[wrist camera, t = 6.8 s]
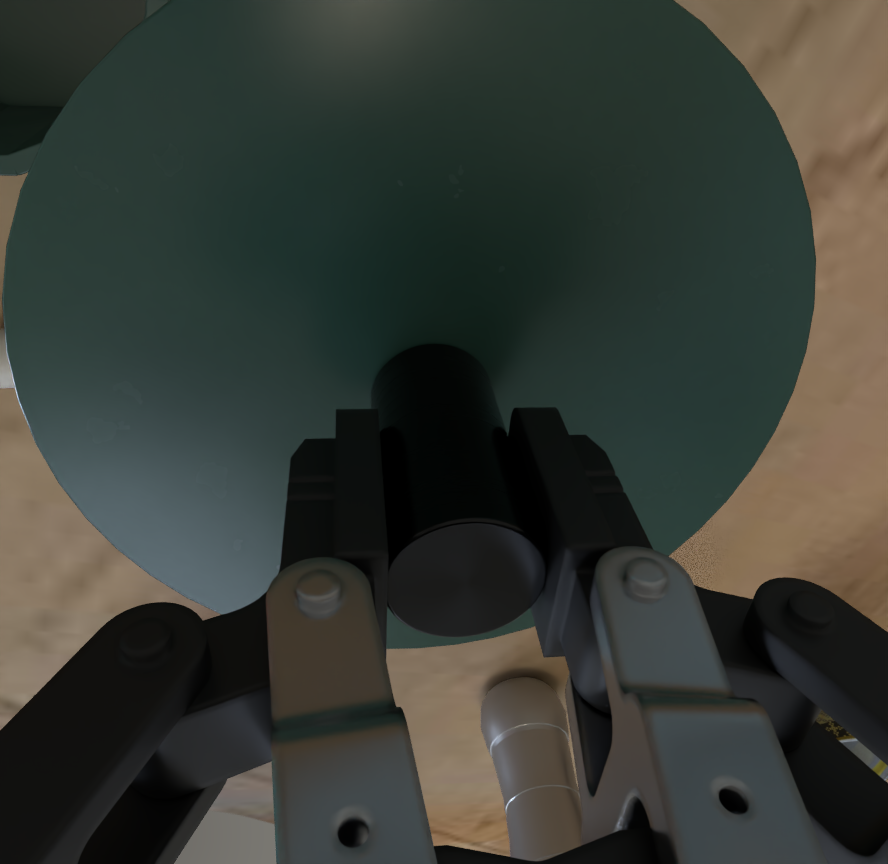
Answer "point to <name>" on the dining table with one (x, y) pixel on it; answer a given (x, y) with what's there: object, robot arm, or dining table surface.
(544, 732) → the plastic bottle
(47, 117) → the pot
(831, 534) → the dining table surface
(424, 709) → the dining table surface
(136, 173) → the lid
